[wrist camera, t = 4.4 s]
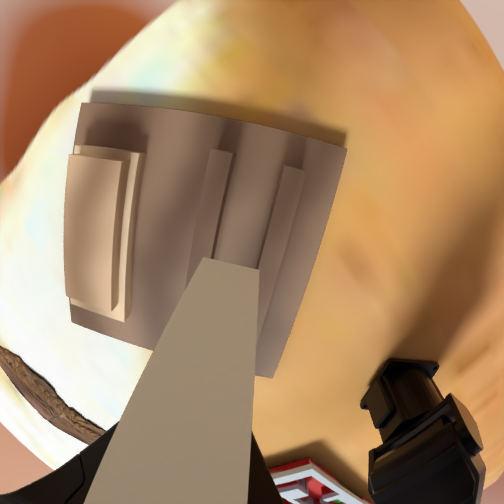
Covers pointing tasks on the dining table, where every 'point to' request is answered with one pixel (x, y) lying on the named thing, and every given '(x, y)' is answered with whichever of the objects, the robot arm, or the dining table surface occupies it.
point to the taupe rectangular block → (191, 401)
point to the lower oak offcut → (128, 226)
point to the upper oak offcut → (94, 228)
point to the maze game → (311, 485)
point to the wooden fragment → (47, 400)
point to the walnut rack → (216, 213)
